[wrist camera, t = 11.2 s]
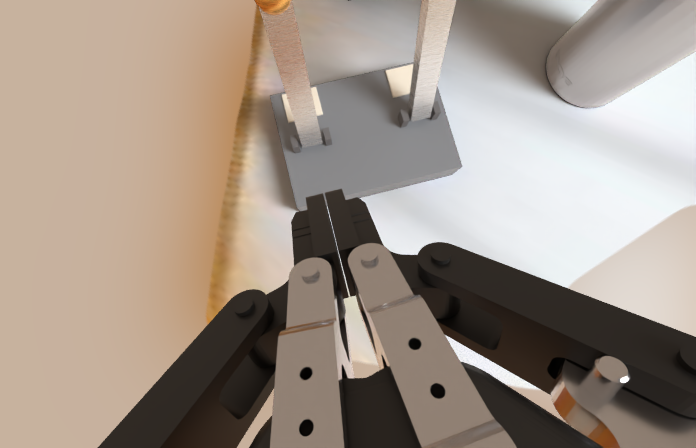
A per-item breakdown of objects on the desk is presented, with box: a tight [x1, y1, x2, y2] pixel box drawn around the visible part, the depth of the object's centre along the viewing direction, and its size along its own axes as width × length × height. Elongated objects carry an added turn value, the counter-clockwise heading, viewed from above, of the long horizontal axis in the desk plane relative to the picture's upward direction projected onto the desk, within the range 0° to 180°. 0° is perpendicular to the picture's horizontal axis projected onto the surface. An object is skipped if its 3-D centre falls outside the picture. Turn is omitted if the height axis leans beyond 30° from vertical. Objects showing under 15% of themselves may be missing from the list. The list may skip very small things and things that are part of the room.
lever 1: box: [255, 0, 323, 148], centre depth 24 cm, size 2×2×14 cm
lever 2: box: [407, 0, 456, 122], centre depth 24 cm, size 2×2×14 cm
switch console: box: [270, 62, 462, 211], centre depth 32 cm, size 17×12×4 cm
